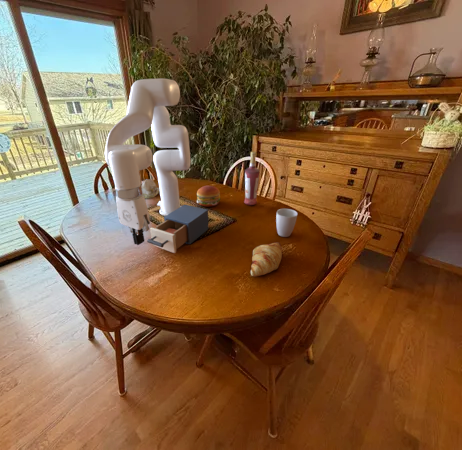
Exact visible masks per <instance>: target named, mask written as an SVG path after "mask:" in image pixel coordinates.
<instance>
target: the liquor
mask: <svg viewBox="0 0 462 450" xmlns="http://www.w3.org/2000/svg"><path fill="white" fill-rule="evenodd" d="M256 157H257V151H250V160H249V161H250V162H249V167H247V168H245V170H244V201H243V203H244V204H245V205H247V206H249V207H252V206H255V205H256V204H257V203H258V201H257V196H258V187H259V186H258V185H259V180H260V169H259V168H258V167H256Z"/></svg>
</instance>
